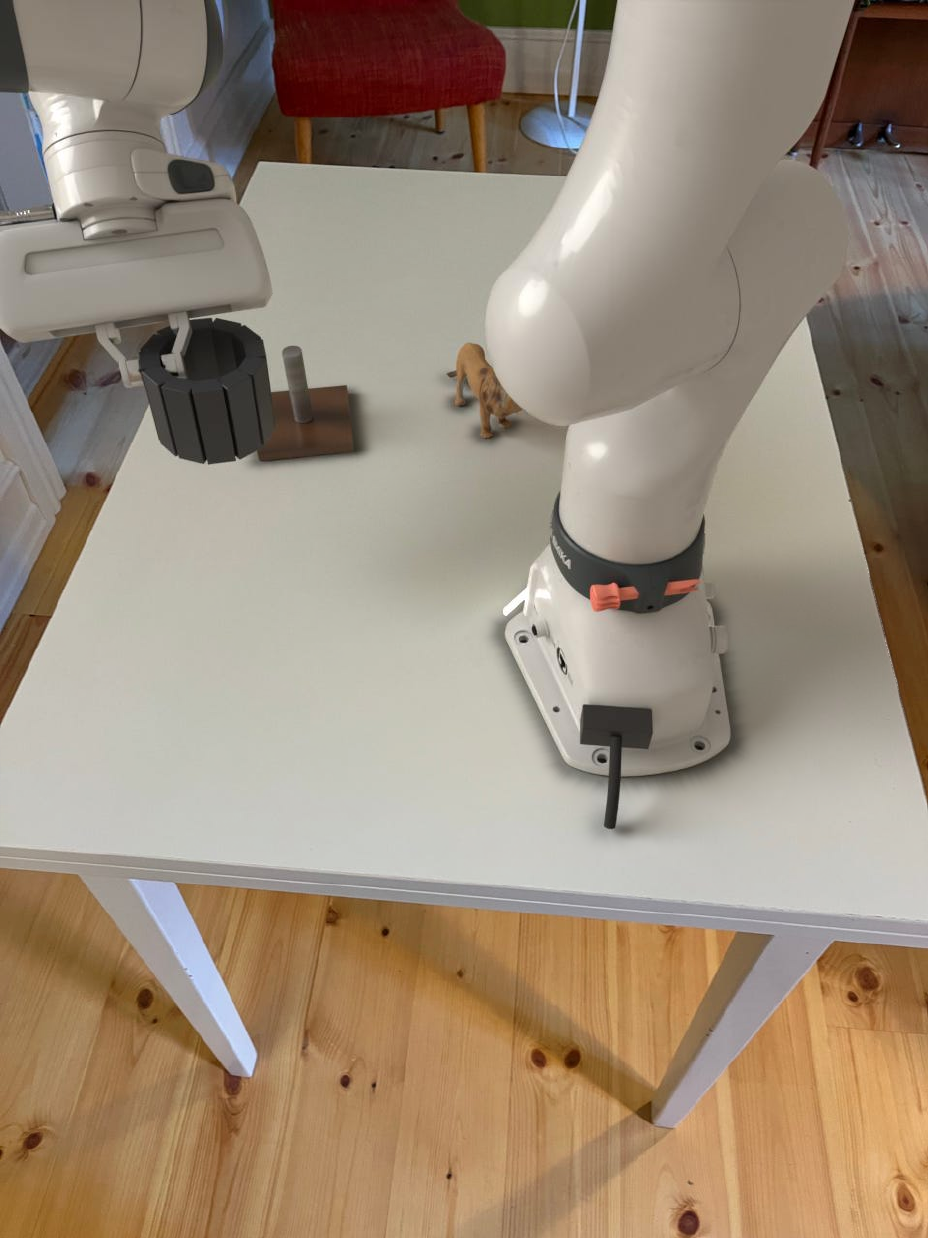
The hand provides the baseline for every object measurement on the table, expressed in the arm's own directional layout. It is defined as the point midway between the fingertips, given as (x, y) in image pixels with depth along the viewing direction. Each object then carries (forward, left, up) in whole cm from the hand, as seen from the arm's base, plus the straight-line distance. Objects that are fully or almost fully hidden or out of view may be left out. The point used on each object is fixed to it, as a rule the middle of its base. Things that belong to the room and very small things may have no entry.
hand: (156, 382), depth 71 cm
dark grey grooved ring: (+1, -3, -6) cm, 7 cm away
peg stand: (+20, -9, -21) cm, 31 cm away
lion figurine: (+19, -29, -22) cm, 41 cm away
